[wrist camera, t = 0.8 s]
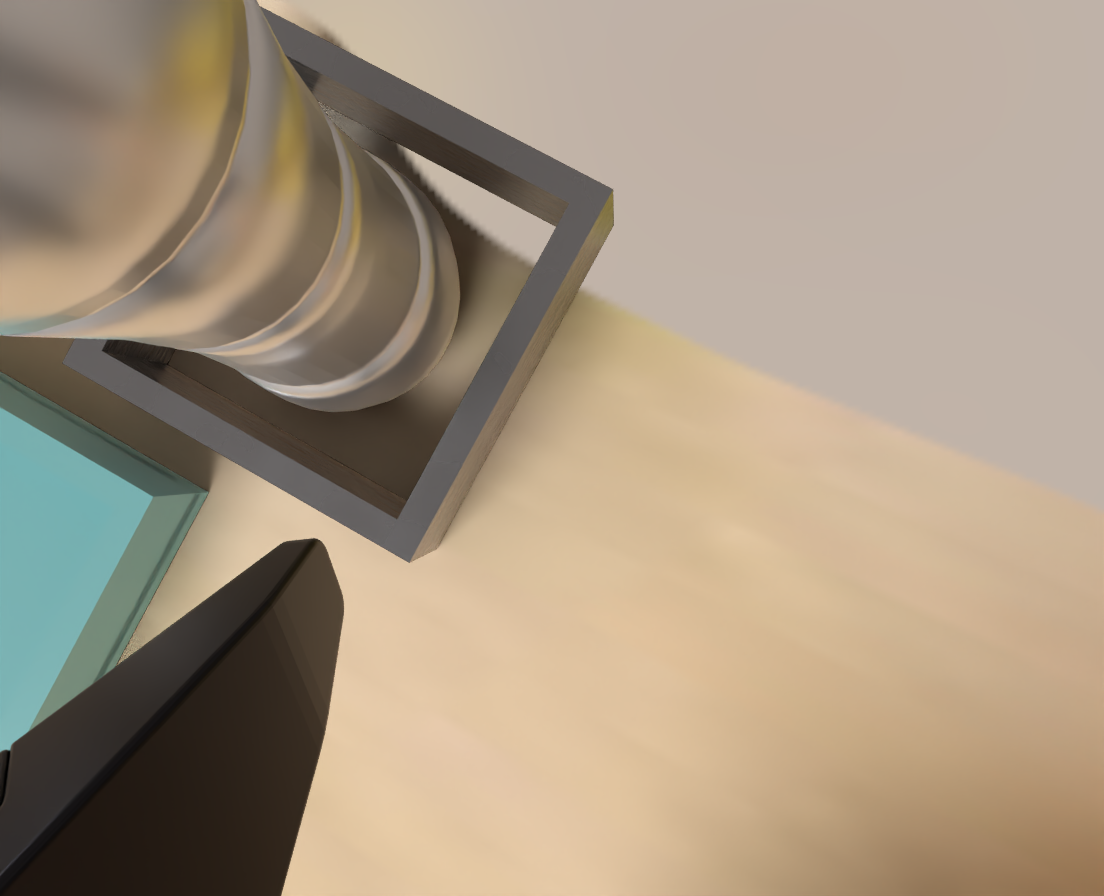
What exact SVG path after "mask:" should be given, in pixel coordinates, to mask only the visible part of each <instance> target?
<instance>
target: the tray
mask: <svg viewBox="0 0 1104 896" xmlns="http://www.w3.org/2000/svg"><path fill="white" fill-rule="evenodd" d="M208 493H209V492H207V491H206V490H204V489H202V488H200V487H199V486H197V485H195V484H194V483H192V482H190V481H188V480H187V479H185V478H183V477H181V476H180V475H178V474H176V473H175V472H173V471H171V470H169V469H168V468H166V467H164V466H163V465H161V464H159V463H157V462H156V461H154V460H152V459H150V458H149V457H147V456H145V455H144V454H142V453H140V452H138V451H137V450H135V449H133V448H131V447H130V446H128V445H126V444H125V443H123V442H121V441H119V440H118V439H116V438H114V437H113V436H111V435H109V434H107V433H106V432H104V431H102V430H100V429H99V428H97V427H95V426H94V425H92V424H90V423H88V422H87V421H85V420H83V419H82V418H80V417H78V416H76V415H75V414H73V413H71V412H69V411H68V410H66V409H64V408H63V407H61V406H59V405H57V404H56V403H54V402H52V401H50V400H49V399H47V398H45V397H44V396H42V395H40V394H38V393H37V392H35V391H33V390H32V389H30V388H28V387H26V386H25V385H23V384H21V383H19V382H18V381H16V380H14V379H13V378H11V377H9V376H7V375H6V374H4V373H2V372H0V752H1V751H2V750H6V749H7V750H10V748H11V745H12V743H14V742H15V741H16V740H17V739H19V738H20V737H21V736H23V735H24V734H26V733H27V732H28V731H30V730H31V729H32V728H34V727H35V726H36V725H38V724H39V723H40V722H42V721H43V720H44V719H46V718H47V717H48V716H50V715H51V714H52V713H54V712H55V711H56V710H58V709H59V708H61V707H62V706H63V705H65V704H66V703H67V702H69V701H70V700H71V699H73V698H74V697H75V696H77V695H78V694H79V693H81V692H82V691H83V690H85V689H86V688H87V687H89V686H90V685H92V684H93V683H94V682H96V681H97V680H98V679H100V678H101V677H102V676H104V675H105V674H106V673H108V672H109V671H110V670H112V669H113V668H114V667H115V666H116V664H117V662H118V661H119V659H120V657H121V655H122V653H123V651H124V649H125V648H126V646H127V644H128V642H129V640H130V638H131V636H132V634H133V633H134V631H135V629H136V627H137V625H138V623H139V621H140V620H141V618H142V616H143V614H144V612H145V610H146V608H147V607H148V605H149V603H150V601H151V599H152V597H153V595H154V593H155V592H156V590H157V588H158V586H159V584H160V582H161V580H162V579H163V577H164V575H165V573H166V571H167V569H168V567H169V565H170V564H171V562H172V560H173V558H174V556H175V554H176V552H177V551H178V549H179V547H180V545H181V543H182V541H183V539H184V537H185V536H186V534H187V532H188V530H189V528H190V526H191V524H192V523H193V521H194V519H195V517H196V515H197V513H198V511H199V510H200V508H201V506H202V504H203V502H204V500H205V498H206V496H207V495H208Z"/></svg>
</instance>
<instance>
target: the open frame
mask: <svg viewBox="0 0 1104 896" xmlns="http://www.w3.org/2000/svg"><path fill="white" fill-rule="evenodd" d="M260 8H261V10H262V12H263V14H264V16H265V18H266V20H267V21H268V23H269V25H270V27H271V29H272V31H273V33H274V35H275V37H276V39H277V41H278V43H279V45H280V46H281V48H282V50H283V52H284V54H285V56H286V57H287V59H288V60H289V62H290V63H291V64H292V66H293V67H294V69H295V70H296V71H297V73H298V74H299V76H300V77H301V79H302V80H303V81H304V83H305V84H306V86H307V87H308V88H309V90H310V91H311V93H312V94H313V96H314V97H315V98H316V100H317V101H318V102H320V103H322V104H324V105H326V106H328V107H330V108H332V109H333V110H335V111H337V112H339V113H341V114H343V115H345V116H347V117H349V118H351V119H352V120H354V121H356V122H358V123H360V124H362V125H364V126H366V127H368V128H370V129H371V130H373V131H375V132H377V133H379V134H381V135H383V136H385V137H387V138H389V139H390V140H392V141H394V142H396V143H398V144H400V145H402V146H404V147H406V148H408V149H409V150H411V151H413V152H415V153H417V154H419V155H421V156H423V157H425V158H427V159H428V160H430V161H432V162H434V163H436V164H438V165H440V166H442V167H444V168H446V169H447V170H449V171H451V172H453V173H455V174H457V175H459V176H461V177H463V178H465V179H466V180H469V181H470V182H472V183H474V184H476V185H478V186H480V187H482V188H484V189H485V190H487V191H489V192H491V193H493V194H495V195H497V196H499V197H501V198H503V199H504V200H506V201H508V202H510V203H512V204H514V205H516V206H518V207H520V208H522V209H523V210H525V211H527V212H529V213H531V214H533V215H535V216H537V217H539V218H541V219H542V220H544V221H546V222H548V223H550V224H552V225H554V226H556V229H555V230H554V232H553V234H552V236H551V238H550V240H549V241H548V243H547V245H546V247H545V249H544V251H543V252H542V254H541V256H540V258H539V260H538V262H537V263H536V265H535V267H534V269H533V271H532V273H531V274H530V276H529V278H528V280H527V282H526V284H525V285H524V287H523V289H522V291H521V293H520V295H519V297H518V298H517V300H516V302H515V304H514V306H513V308H512V309H511V311H510V313H509V315H508V317H507V319H506V320H505V322H504V324H503V326H502V328H501V330H500V331H499V333H498V335H497V337H496V339H495V341H494V342H493V344H492V346H491V348H490V350H489V352H488V353H487V355H486V357H485V359H484V361H483V363H482V364H481V366H480V368H479V370H478V372H477V374H476V375H475V377H474V379H473V381H472V383H471V385H470V387H469V388H468V390H467V392H466V394H465V396H464V398H463V399H462V401H461V403H460V405H459V407H458V409H457V410H456V412H455V414H454V416H453V418H452V420H451V421H450V423H449V425H448V427H447V429H446V431H445V432H444V434H443V436H442V438H441V440H440V442H439V443H438V445H437V447H436V449H435V451H434V453H433V454H432V456H431V458H430V460H429V462H428V464H427V465H426V467H425V469H424V471H423V473H422V475H421V477H420V478H419V480H418V482H417V484H416V486H415V488H414V489H413V491H412V493H411V495H410V497H409V499H408V500H405V499H403V498H401V497H400V496H398V495H396V494H394V493H393V492H391V491H389V490H387V489H385V488H384V487H382V486H380V485H378V484H377V483H375V482H373V481H371V480H370V479H368V478H366V477H364V476H363V475H361V474H359V473H357V472H356V471H354V470H352V469H350V468H348V467H347V466H345V465H343V464H341V463H340V462H338V461H336V460H334V459H333V458H331V457H329V456H327V455H326V454H324V453H322V452H320V451H319V450H317V449H315V448H313V447H311V446H310V445H308V444H306V443H304V442H303V441H301V440H299V439H297V438H296V437H294V436H292V435H290V434H289V433H287V432H285V431H283V430H282V429H280V428H278V427H276V426H274V425H273V424H271V423H269V422H267V421H266V420H264V419H262V418H260V417H259V416H257V415H255V414H253V413H252V412H250V411H248V410H246V409H245V408H243V407H241V406H239V405H237V404H236V403H234V402H232V401H230V400H229V399H227V398H225V397H223V396H222V395H220V394H218V393H216V392H215V391H213V390H211V389H209V388H208V387H206V386H204V385H202V384H200V383H199V382H197V381H195V380H193V379H192V378H190V377H188V376H186V375H185V374H183V373H181V372H179V371H178V370H176V369H174V368H172V367H171V366H169V365H167V363H168V362H169V360H170V358H171V356H172V354H173V352H174V350H175V348H171V347H164V346H157V345H151V344H146V343H140V342H135V341H129V340H115V339H82V338H75V340H74V341H73V343H72V345H71V347H70V349H69V351H68V353H67V355H66V357H65V359H64V360H63V362H62V363H63V364H64V365H66V366H68V367H69V368H71V369H73V370H75V371H76V372H78V373H80V374H82V375H83V376H85V377H87V378H89V379H90V380H92V381H94V382H96V383H97V384H99V385H101V386H103V387H104V388H106V389H108V390H110V391H111V392H113V393H115V394H116V395H118V396H120V397H122V398H123V399H125V400H127V401H129V402H130V403H132V404H134V405H136V406H137V407H139V408H141V409H143V410H144V411H146V412H148V413H150V414H151V415H153V416H155V417H156V418H158V419H160V420H162V421H163V422H165V423H167V424H169V425H170V426H172V427H174V428H176V429H177V430H179V431H181V432H183V433H184V434H186V435H188V436H190V437H191V438H193V439H195V440H197V441H198V442H200V443H202V444H203V445H205V446H207V447H209V448H210V449H212V450H214V451H216V452H217V453H219V454H221V455H223V456H224V457H226V458H228V459H230V460H231V461H233V462H235V463H237V464H238V465H240V466H242V467H243V468H245V469H247V470H249V471H250V472H252V473H254V474H256V475H257V476H259V477H261V478H263V479H264V480H266V481H268V482H270V483H271V484H273V485H275V486H277V487H278V488H280V489H282V490H283V491H285V492H287V493H289V494H290V495H292V496H294V497H296V498H297V499H299V500H301V501H303V502H304V503H306V504H308V505H310V506H311V507H313V508H315V509H317V510H318V511H320V512H322V513H324V514H325V515H327V516H329V517H330V518H332V519H334V520H336V521H337V522H339V523H341V524H343V525H344V526H346V527H348V528H350V529H351V530H353V531H355V532H357V533H358V534H360V535H362V536H364V537H365V538H367V539H369V540H370V541H372V542H374V543H376V544H377V545H379V546H381V547H383V548H384V549H386V550H388V551H390V552H391V553H393V554H395V555H397V556H398V557H400V558H402V559H404V560H405V561H407V562H409V563H410V562H412V561H414V560H416V559H418V558H420V557H422V556H424V555H426V554H428V553H430V552H432V551H434V550H436V549H437V547H438V546H439V544H440V542H441V540H442V538H443V537H444V535H445V533H446V531H447V529H448V527H449V526H450V524H451V522H452V520H453V518H454V516H455V515H456V513H457V511H458V509H459V507H460V505H461V504H462V502H463V500H464V498H465V496H466V494H467V493H468V491H469V489H470V487H471V485H472V483H473V482H474V480H475V478H476V476H477V474H478V472H479V471H480V469H481V467H482V465H483V463H484V462H485V460H486V458H487V456H488V454H489V452H490V451H491V449H492V447H493V445H494V443H495V441H496V440H497V438H498V436H499V434H500V432H501V430H502V429H503V427H504V425H505V423H506V421H507V419H508V418H509V416H510V414H511V412H512V410H513V408H514V407H515V405H516V403H517V401H518V399H519V397H520V396H521V394H522V392H523V390H524V388H525V387H526V385H527V383H528V381H529V379H530V377H531V376H532V374H533V372H534V370H535V368H536V366H537V365H538V363H539V361H540V359H541V357H542V355H543V354H544V352H545V350H546V348H547V346H548V344H549V343H550V341H551V339H552V337H553V335H554V333H555V332H556V330H557V328H558V326H559V324H560V322H561V321H562V319H563V317H564V315H565V313H566V312H567V310H568V308H569V306H570V304H571V302H572V301H573V299H574V297H575V295H576V293H577V291H578V290H579V288H580V286H581V284H582V282H583V280H584V279H585V277H586V275H587V273H588V271H589V269H590V267H591V266H592V263H593V262H594V260H595V258H596V257H597V255H598V253H599V251H600V249H601V247H602V246H603V244H604V242H605V240H606V238H607V237H608V235H609V233H610V231H611V229H612V227H613V225H614V214H613V189H611V188H609V187H607V186H605V185H604V184H602V183H600V182H597V181H596V180H594V179H592V178H590V177H588V176H586V175H584V174H582V173H580V172H578V171H577V170H575V169H572V168H571V167H569V166H567V165H565V164H563V163H561V162H559V161H557V160H555V159H553V158H551V157H550V156H548V155H546V154H544V153H542V152H540V151H538V150H536V149H534V148H532V147H530V146H528V145H526V144H524V143H523V142H521V141H519V140H517V139H515V138H513V137H511V136H509V135H507V134H505V133H503V132H501V131H499V130H497V129H496V128H494V127H492V126H490V125H488V124H486V123H484V122H482V121H480V120H478V119H476V118H474V117H472V116H470V115H468V114H467V113H465V112H463V111H461V110H459V109H457V108H455V107H453V106H451V105H449V104H447V103H445V102H444V101H442V100H440V99H438V98H436V97H434V96H432V95H430V94H428V93H426V92H424V91H422V90H420V89H418V88H417V87H415V86H413V85H411V84H409V83H407V82H405V81H403V80H401V79H399V78H397V77H395V76H393V75H391V74H390V73H388V72H386V71H384V70H382V69H380V68H378V67H376V66H374V65H372V64H370V63H368V62H366V61H365V60H363V59H360V58H359V57H357V56H355V55H353V54H351V53H349V52H347V51H345V50H343V49H341V48H339V47H338V46H336V45H334V44H332V43H330V42H328V41H326V40H324V39H322V38H320V37H318V36H316V35H314V34H312V33H311V32H309V31H307V30H305V29H303V28H301V27H299V26H297V25H295V24H293V23H291V22H289V21H287V20H285V19H284V18H282V17H280V16H278V15H276V14H274V13H272V12H270V11H268V10H266V9H264V8H262V7H260Z"/></svg>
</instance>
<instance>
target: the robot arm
mask: <svg viewBox="0 0 1104 896" xmlns="http://www.w3.org/2000/svg"><path fill="white" fill-rule="evenodd" d="M343 616H344V600H343V595H342V592H341V589H340V586H339V583H338V580H337V577H336V575H335V572H334V569H333V566H332V563H331V561H330V558H329V555H328V552H327V549H326V547H325V546H324V544H323V543H322V542H321V541H320V540H318V539H315V538H313V539H303V540H294V541H286V542H283V543H282V544H280V545H279V546H277V547H276V548H275V549H273V550H272V551H271V552H269V553H268V554H267V555H265V556H264V557H263V558H261V559H260V560H259V561H257V562H256V563H254V564H253V565H252V566H250V567H249V568H248V569H246V570H245V571H244V572H242V573H241V574H240V575H238V576H237V577H236V578H234V579H233V580H232V581H230V582H229V583H228V584H226V585H225V586H224V587H222V588H221V589H219V590H218V591H217V592H215V593H214V594H213V595H211V596H210V597H209V598H207V599H206V600H205V601H203V602H202V603H201V604H199V605H198V606H197V607H195V608H194V609H193V610H191V611H190V612H188V613H187V614H186V615H184V616H183V617H182V618H180V619H179V620H178V621H176V622H175V623H174V624H172V625H171V626H170V627H168V628H167V629H166V630H164V631H163V632H162V633H160V634H159V635H158V636H156V637H155V638H153V639H152V640H151V641H149V642H148V643H147V644H145V645H144V646H143V647H141V648H140V649H139V650H137V651H136V652H135V653H133V654H132V655H131V656H129V657H128V658H127V659H125V660H124V661H122V662H121V663H120V664H118V665H117V666H116V667H114V668H113V669H112V670H110V671H109V672H108V673H106V674H105V675H104V676H102V677H101V678H100V679H98V680H97V681H96V682H94V683H93V684H92V685H90V686H89V687H87V688H86V689H85V690H83V691H82V692H81V693H79V694H78V695H77V696H75V697H74V698H73V699H71V700H70V701H69V702H67V703H66V704H65V705H63V706H62V707H61V708H59V709H58V710H56V711H55V712H54V713H52V714H51V715H50V716H48V717H47V718H46V719H44V720H43V721H42V722H40V723H39V724H38V725H36V726H35V727H34V728H32V729H31V730H30V731H28V732H27V733H26V734H24V735H23V736H21V737H20V738H19V739H17V740H16V741H15V742H14V743H12V745H11V748H10V750H7V749H6V750H2V751H1V752H0V896H281V894H282V890H283V887H284V883H285V879H286V876H287V872H288V869H289V865H290V861H291V858H292V854H293V850H294V847H295V843H296V839H297V836H298V832H299V828H300V825H301V821H302V817H303V814H304V810H305V806H306V803H307V799H308V795H309V792H310V788H311V785H312V781H313V777H314V774H315V770H316V766H317V763H318V759H319V755H320V751H321V747H322V743H323V739H324V735H325V731H326V725H327V720H328V714H329V708H330V701H331V695H332V688H333V682H334V675H335V668H336V662H337V655H338V649H339V642H340V636H341V629H342V622H343Z"/></svg>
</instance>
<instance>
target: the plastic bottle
mask: <svg viewBox="0 0 1104 896" xmlns="http://www.w3.org/2000/svg"><path fill="white" fill-rule="evenodd" d="M459 304H460V284H459V273H458V267H457V261H456V257H455V253H454V249H453V246H452V242H451V238H450V235H449V233H448V231H447V229H446V227H445V224H444V222H443V220H442V218H441V216H440V214H439V212H438V211H437V210H436V208H435V207H434V206H433V204H432V203H431V202H430V200H429V199H428V198H427V196H426V195H425V194H424V193H423V192H422V191H421V190H420V189H419V188H418V187H417V186H416V185H414V184H413V183H412V182H411V181H410V180H409V179H408V178H407V177H405V176H404V175H403V174H402V173H400V172H399V171H398V170H396V169H395V168H394V167H392V166H391V165H390V164H389V163H387V162H385V161H384V160H382V159H380V158H378V157H377V156H375V155H373V154H372V153H370V152H368V151H366V150H364V149H362V148H361V147H359V146H358V145H357V144H356V143H355V142H354V141H353V140H352V139H351V138H350V137H348V136H347V135H346V134H345V133H344V132H343V131H342V130H341V129H340V128H338V127H337V126H336V125H335V124H334V123H333V122H332V121H331V120H330V118H329V117H328V116H327V114H326V113H325V112H324V110H323V109H322V108H321V106H320V105H319V103H318V101H317V100H316V98H315V97H314V96H313V94H312V93H311V91H310V90H309V88H308V87H307V86H306V84H305V83H304V81H303V80H302V79H301V77H300V76H299V74H298V73H297V71H296V70H295V69H294V67H293V66H292V64H291V63H290V62H289V60H288V59H287V57H286V56H285V54H284V52H283V50H282V48H281V46H280V45H279V43H278V41H277V39H276V37H275V35H274V33H273V31H272V29H271V27H270V25H269V23H268V21H267V20H266V18H265V16H264V14H263V12H262V10H261V8H260V6H259V4H258V2H257V0H0V335H3V336H17V337H50V338H82V339H115V340H129V341H135V342H140V343H146V344H151V345H157V346H164V347H171V348H175V349H180V350H186V351H191V352H197V353H199V354H202V355H204V356H206V357H208V358H211V359H213V360H215V361H218V362H220V363H222V364H225V365H227V366H229V367H231V368H234V369H236V370H237V371H238V372H240V373H241V374H242V375H243V376H245V377H246V378H247V379H249V380H251V381H252V382H254V383H256V384H257V385H259V386H260V387H262V388H264V389H265V390H267V391H269V392H271V393H273V394H274V395H276V396H278V397H280V398H282V399H284V400H286V401H288V402H291V403H294V404H296V405H299V406H302V407H305V408H307V409H313V410H320V411H327V412H343V411H356V410H360V409H363V408H367V407H370V406H374V405H377V404H381V403H384V402H387V401H390V400H392V399H394V398H396V397H398V396H400V395H402V394H404V393H406V392H408V391H410V390H411V389H412V388H413V387H415V386H416V385H417V384H418V383H419V382H421V381H422V380H423V379H424V378H426V377H427V376H428V374H429V373H430V372H431V371H432V369H433V368H434V367H435V366H436V365H437V363H438V362H439V361H440V360H441V358H442V356H443V354H444V352H445V350H446V349H447V347H448V345H449V343H450V341H451V339H452V335H453V332H454V329H455V326H456V323H457V320H458V312H459Z"/></svg>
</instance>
